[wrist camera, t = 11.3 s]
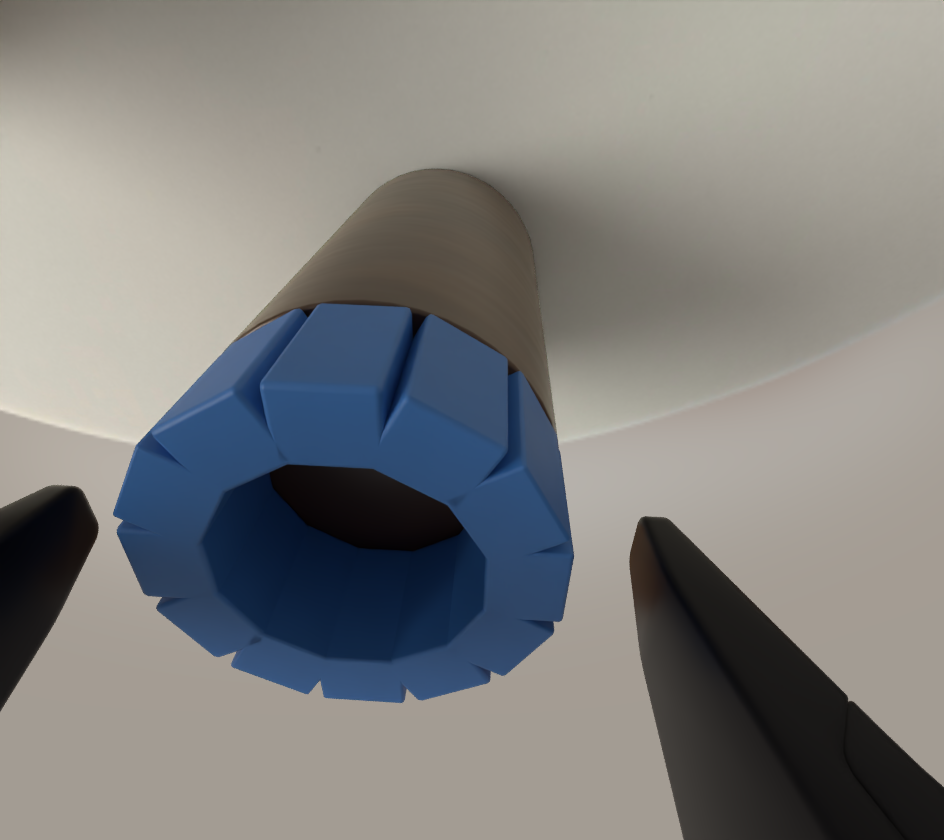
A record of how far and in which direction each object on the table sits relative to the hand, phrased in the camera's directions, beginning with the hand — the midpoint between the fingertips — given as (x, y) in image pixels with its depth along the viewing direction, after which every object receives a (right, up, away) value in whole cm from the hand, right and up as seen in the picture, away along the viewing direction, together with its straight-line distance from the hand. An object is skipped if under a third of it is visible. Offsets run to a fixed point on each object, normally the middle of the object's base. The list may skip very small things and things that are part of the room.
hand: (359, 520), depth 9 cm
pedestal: (+1, +7, +11) cm, 13 cm away
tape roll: (0, +1, +1) cm, 1 cm away
